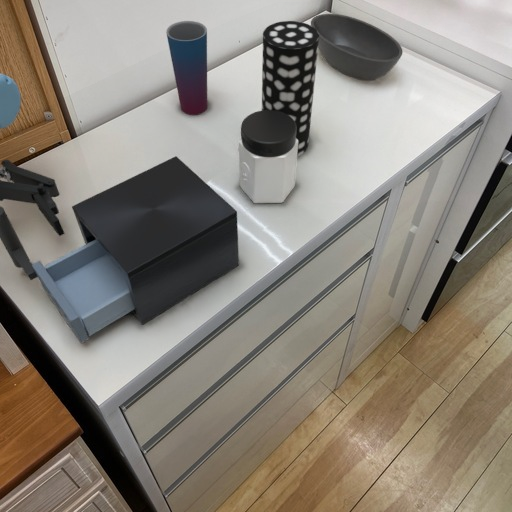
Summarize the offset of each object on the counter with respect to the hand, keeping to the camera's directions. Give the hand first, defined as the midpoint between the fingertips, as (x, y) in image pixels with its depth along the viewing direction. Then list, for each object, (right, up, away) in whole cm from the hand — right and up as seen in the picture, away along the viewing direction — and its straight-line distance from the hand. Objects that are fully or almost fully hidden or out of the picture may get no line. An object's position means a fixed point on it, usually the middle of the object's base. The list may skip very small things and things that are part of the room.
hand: (9, 252), depth 68 cm
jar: (+33, +11, +19) cm, 40 cm away
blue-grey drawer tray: (+9, -3, +5) cm, 11 cm away
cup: (+20, +28, +33) cm, 47 cm away
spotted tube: (+37, +19, +26) cm, 49 cm away
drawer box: (+18, -1, +8) cm, 20 cm away
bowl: (+51, +39, +43) cm, 77 cm away
